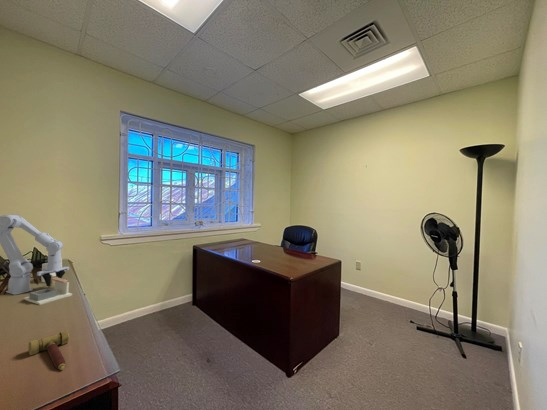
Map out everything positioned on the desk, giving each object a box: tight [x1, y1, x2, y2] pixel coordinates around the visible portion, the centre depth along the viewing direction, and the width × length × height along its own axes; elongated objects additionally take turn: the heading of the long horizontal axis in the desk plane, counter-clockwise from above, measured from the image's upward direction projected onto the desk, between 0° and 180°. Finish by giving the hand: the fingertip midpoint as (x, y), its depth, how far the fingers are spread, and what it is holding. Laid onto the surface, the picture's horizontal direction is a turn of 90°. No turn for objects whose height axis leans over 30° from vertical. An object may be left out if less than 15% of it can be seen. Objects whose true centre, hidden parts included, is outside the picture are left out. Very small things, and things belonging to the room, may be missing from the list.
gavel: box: [27, 329, 70, 371], centre depth 79 cm, size 21×5×10 cm
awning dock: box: [23, 277, 73, 306], centre depth 126 cm, size 14×14×8 cm
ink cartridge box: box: [41, 256, 63, 284], centre depth 152 cm, size 9×5×15 cm, turn 168°
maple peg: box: [47, 276, 58, 290], centre depth 138 cm, size 4×4×7 cm
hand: (53, 284), depth 138 cm, fingers closed on maple peg, 4 cm apart
